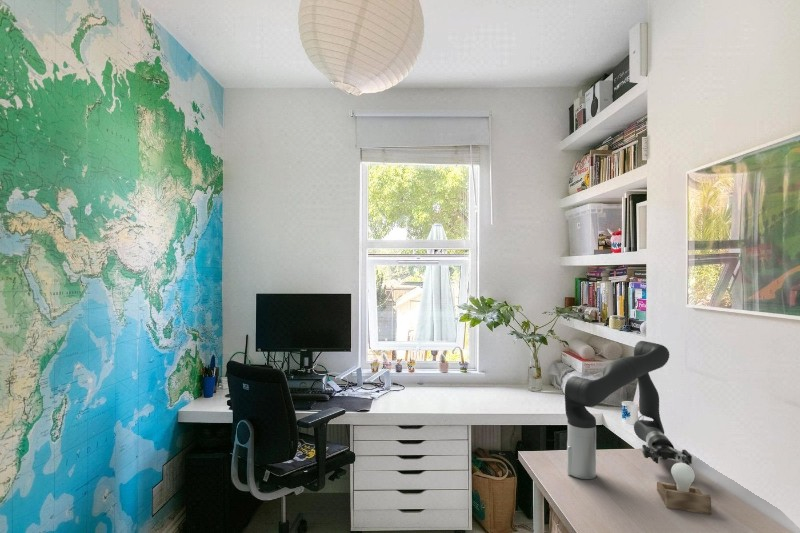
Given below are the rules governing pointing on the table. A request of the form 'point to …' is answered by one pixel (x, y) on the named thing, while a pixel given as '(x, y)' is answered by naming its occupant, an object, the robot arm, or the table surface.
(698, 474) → the table surface
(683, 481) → the lightbulb
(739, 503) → the table surface
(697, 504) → the cradle
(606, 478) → the table surface
